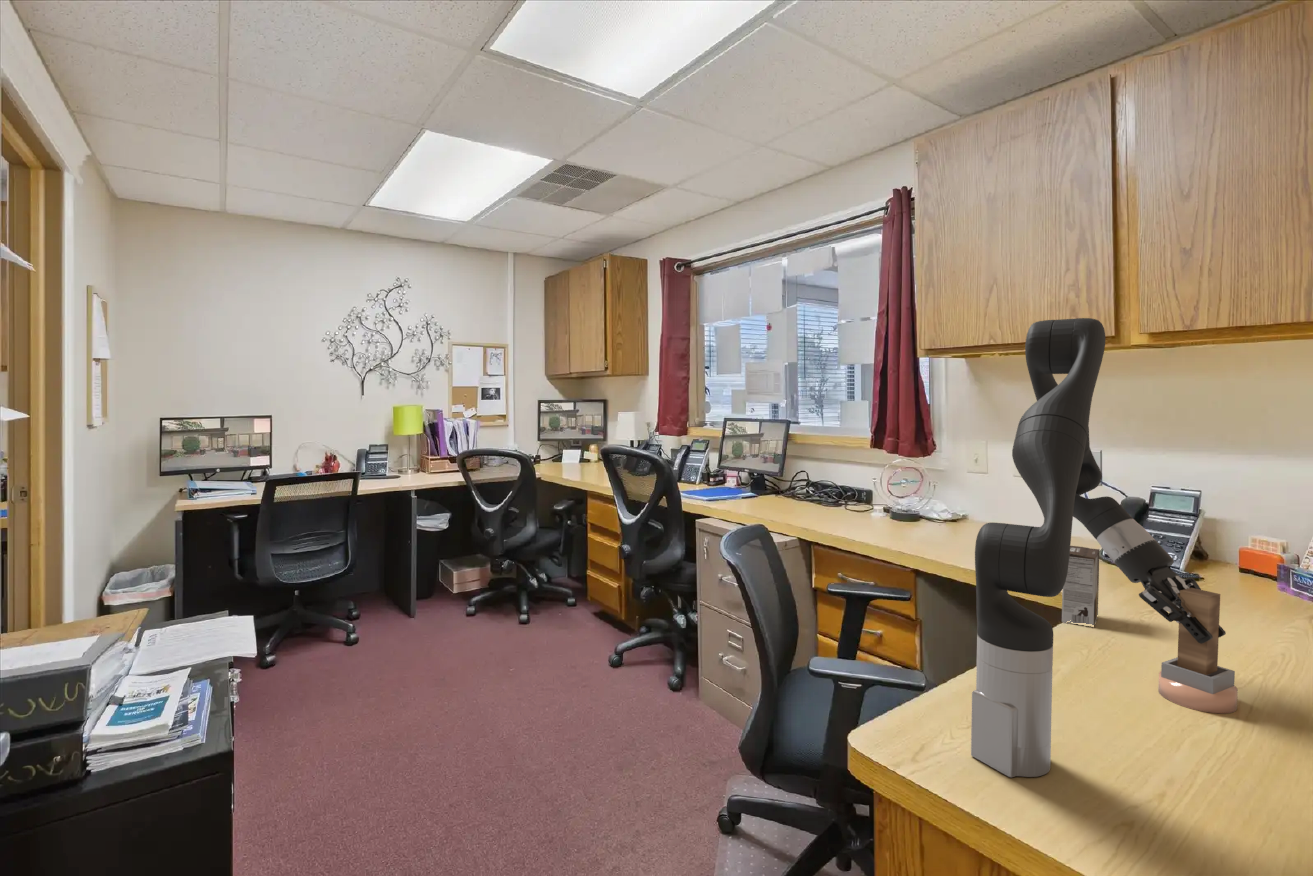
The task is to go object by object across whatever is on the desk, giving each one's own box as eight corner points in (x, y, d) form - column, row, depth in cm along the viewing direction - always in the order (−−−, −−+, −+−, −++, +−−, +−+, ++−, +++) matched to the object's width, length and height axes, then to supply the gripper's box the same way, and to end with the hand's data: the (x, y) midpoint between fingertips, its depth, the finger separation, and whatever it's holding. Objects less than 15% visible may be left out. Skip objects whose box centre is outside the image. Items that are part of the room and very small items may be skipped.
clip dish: (1217, 718, 99) (1218, 684, 99) (1145, 692, 108) (1146, 661, 108) (1249, 705, 103) (1250, 672, 103) (1177, 681, 112) (1178, 651, 112)
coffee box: (1065, 611, 149) (1067, 544, 149) (1098, 617, 145) (1100, 548, 144) (1060, 622, 142) (1062, 552, 141) (1094, 628, 138) (1096, 556, 137)
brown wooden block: (1205, 675, 103) (1209, 597, 102) (1177, 666, 106) (1180, 590, 106) (1217, 671, 104) (1220, 594, 104) (1188, 662, 108) (1191, 587, 107)
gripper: (1127, 543, 108) (1211, 636, 98) (1172, 534, 114) (1256, 621, 104) (1093, 566, 113) (1170, 657, 103) (1139, 557, 119) (1215, 641, 109)
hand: (1213, 638), depth 103 cm, fingers closed on brown wooden block, 3 cm apart
